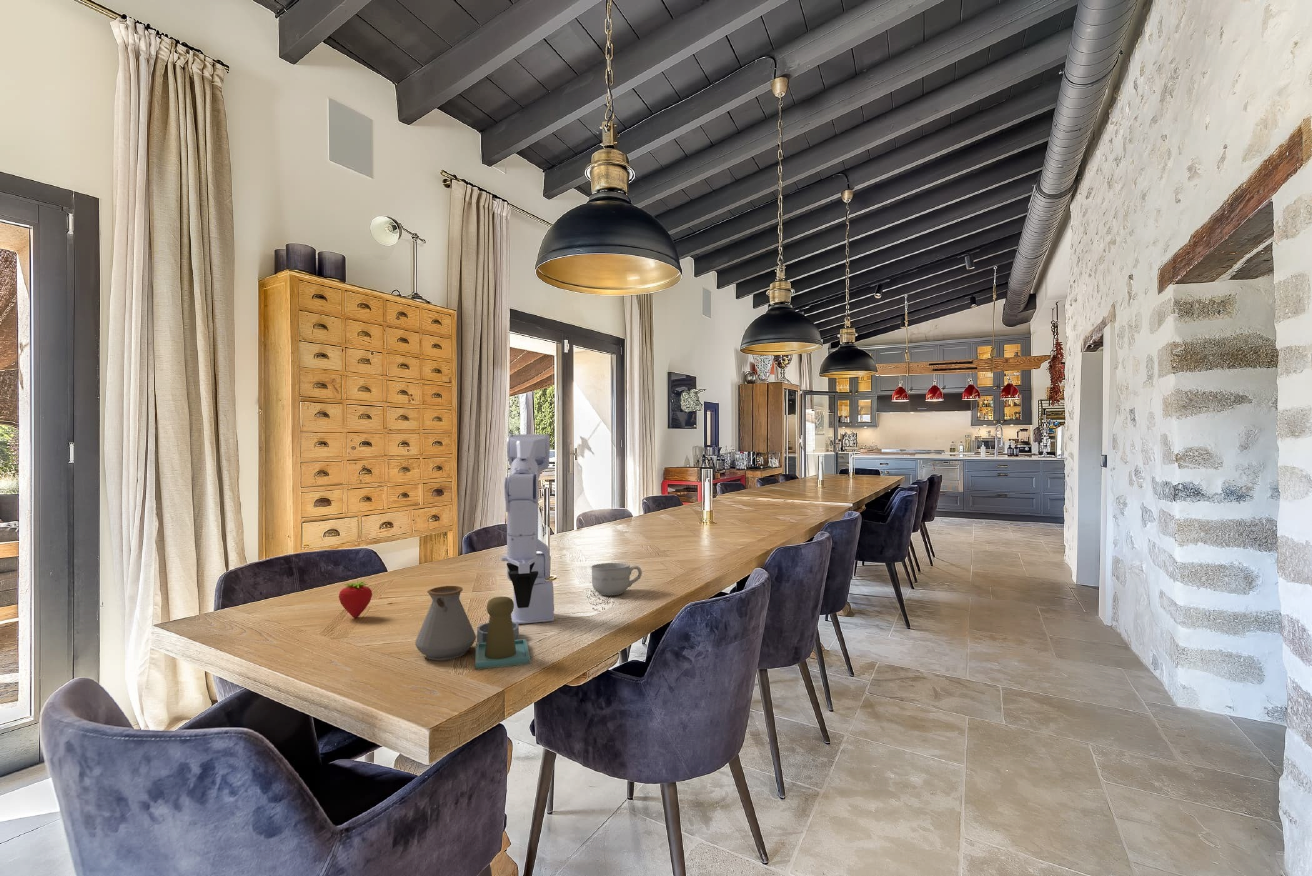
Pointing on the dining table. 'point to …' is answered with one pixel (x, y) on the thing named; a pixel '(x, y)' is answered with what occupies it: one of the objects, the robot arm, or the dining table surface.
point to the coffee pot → (445, 626)
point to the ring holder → (483, 631)
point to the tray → (517, 659)
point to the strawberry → (355, 598)
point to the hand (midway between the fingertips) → (521, 602)
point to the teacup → (613, 577)
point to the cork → (500, 629)
